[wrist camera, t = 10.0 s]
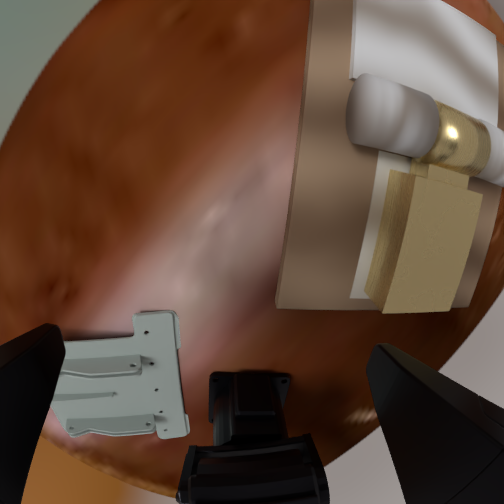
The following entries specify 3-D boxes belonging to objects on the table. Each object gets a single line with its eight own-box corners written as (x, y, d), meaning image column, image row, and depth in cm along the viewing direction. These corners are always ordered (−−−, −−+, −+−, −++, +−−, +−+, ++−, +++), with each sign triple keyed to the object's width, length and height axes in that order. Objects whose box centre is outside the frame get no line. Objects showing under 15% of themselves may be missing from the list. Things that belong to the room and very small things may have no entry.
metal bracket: (64, 456, 20) (-2, 336, 14) (66, 414, 25) (20, 296, 19) (204, 445, 25) (195, 323, 19) (190, 404, 30) (181, 283, 24)
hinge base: (462, 301, 23) (493, 329, 18) (274, 301, 21) (287, 345, 16) (500, 50, 15) (539, 45, 10) (312, -36, 13) (335, -73, 8)
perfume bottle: (428, 291, 21) (456, 318, 17) (363, 290, 20) (388, 322, 16) (463, 121, 16) (502, 124, 12) (398, 96, 15) (435, 91, 12)
